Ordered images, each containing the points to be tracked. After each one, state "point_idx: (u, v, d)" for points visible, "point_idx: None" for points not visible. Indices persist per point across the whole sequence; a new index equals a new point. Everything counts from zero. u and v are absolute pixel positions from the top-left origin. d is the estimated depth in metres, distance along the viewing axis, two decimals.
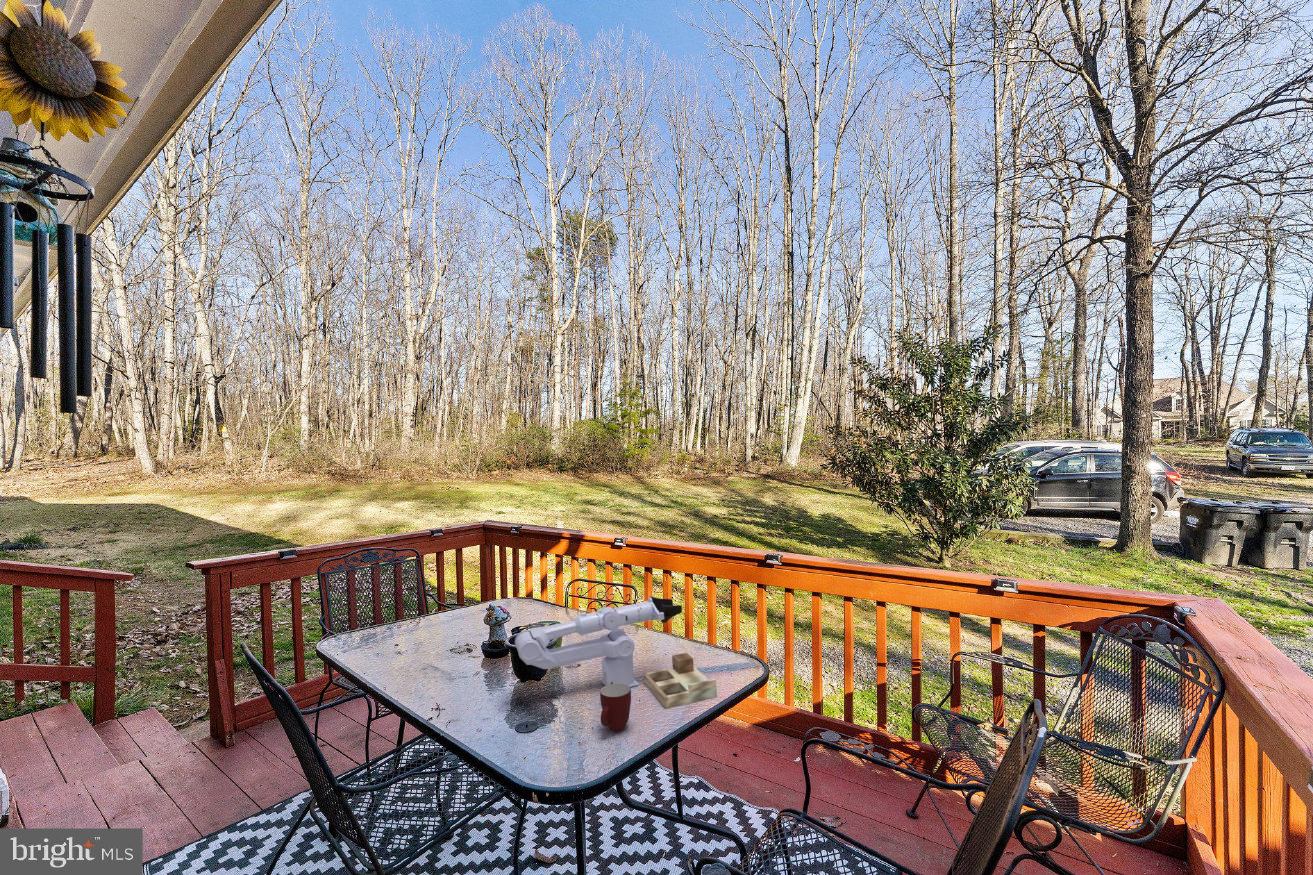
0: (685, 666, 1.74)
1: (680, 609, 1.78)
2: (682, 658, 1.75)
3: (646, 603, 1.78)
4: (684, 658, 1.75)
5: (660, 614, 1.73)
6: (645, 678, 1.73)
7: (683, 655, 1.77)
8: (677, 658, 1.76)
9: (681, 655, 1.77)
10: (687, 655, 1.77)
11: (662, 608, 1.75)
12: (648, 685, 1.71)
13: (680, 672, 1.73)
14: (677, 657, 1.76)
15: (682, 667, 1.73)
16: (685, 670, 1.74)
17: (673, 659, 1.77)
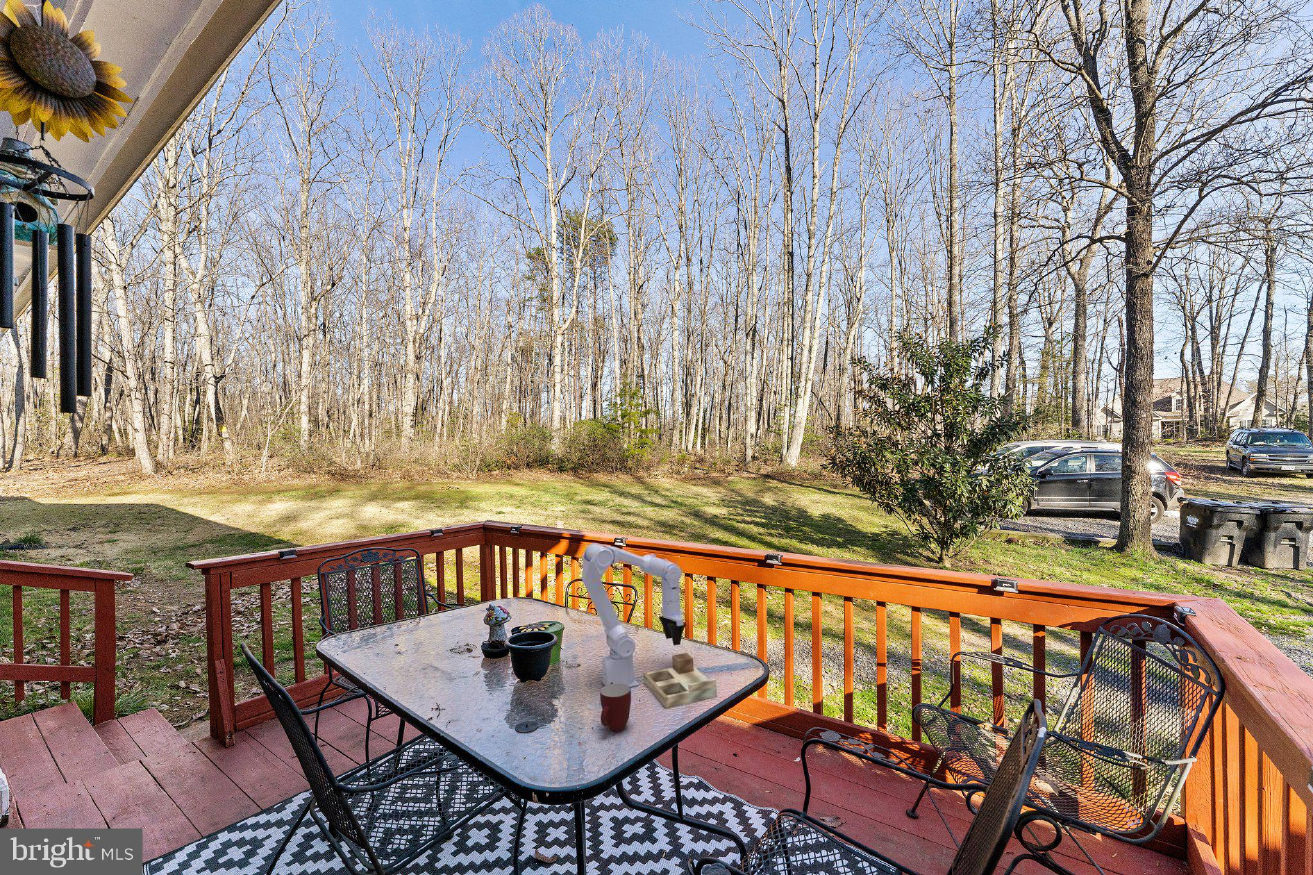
0: (685, 666, 1.74)
1: (677, 643, 1.80)
2: (682, 658, 1.75)
3: None
4: (684, 658, 1.75)
5: (682, 621, 1.77)
6: (645, 678, 1.73)
7: (683, 655, 1.77)
8: (677, 658, 1.76)
9: (681, 655, 1.77)
10: (687, 655, 1.77)
11: None
12: (648, 685, 1.71)
13: (680, 672, 1.73)
14: (677, 657, 1.76)
15: (682, 667, 1.73)
16: (685, 670, 1.74)
17: (673, 659, 1.77)
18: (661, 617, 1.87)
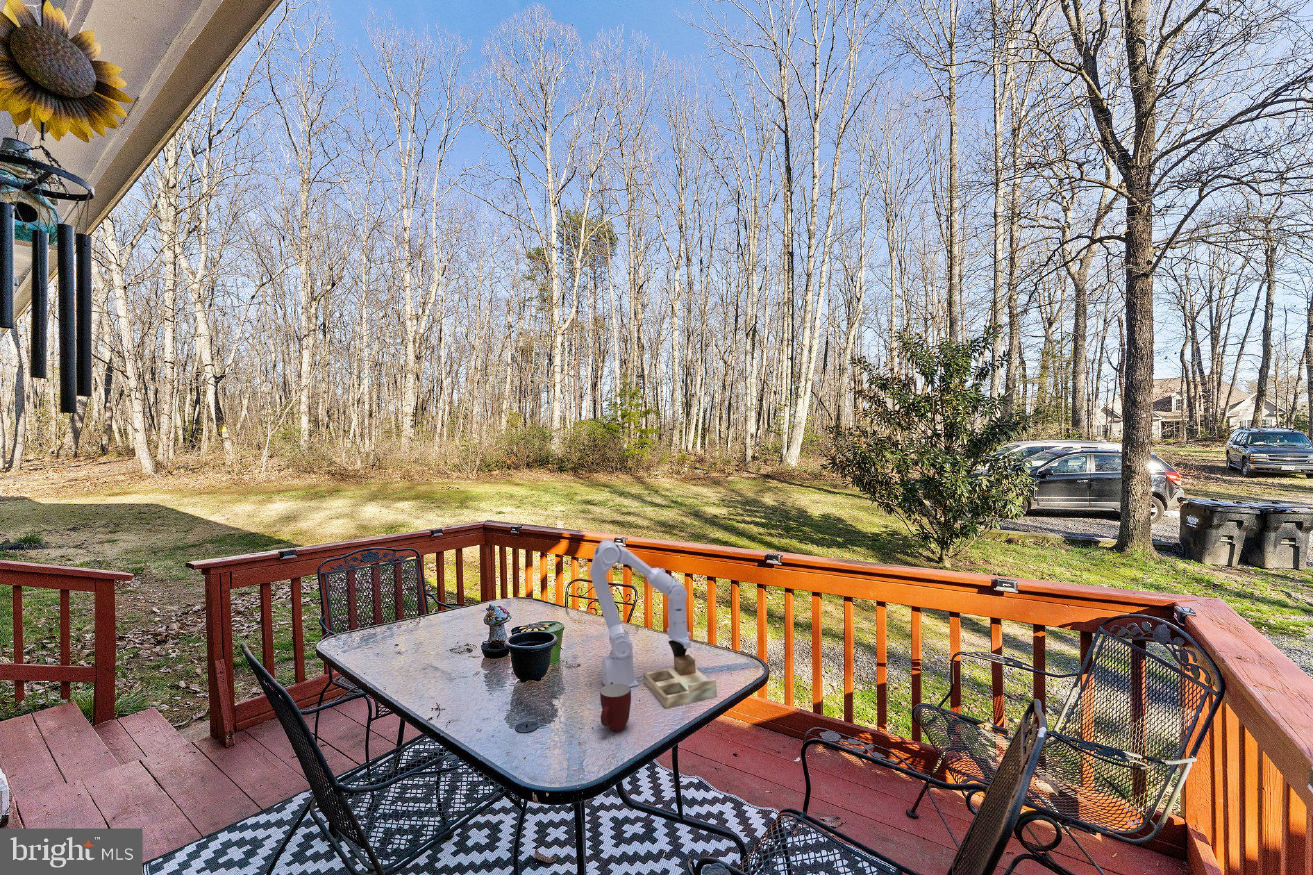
0: (687, 667, 1.73)
1: None
2: (684, 660, 1.74)
3: None
4: (686, 660, 1.74)
5: (690, 644, 1.72)
6: (645, 678, 1.73)
7: (685, 657, 1.76)
8: (679, 659, 1.74)
9: (683, 657, 1.76)
10: (689, 657, 1.76)
11: None
12: (648, 685, 1.71)
13: (682, 674, 1.72)
14: (679, 659, 1.75)
15: (683, 669, 1.72)
16: (687, 672, 1.72)
17: (675, 661, 1.75)
18: (671, 641, 1.79)
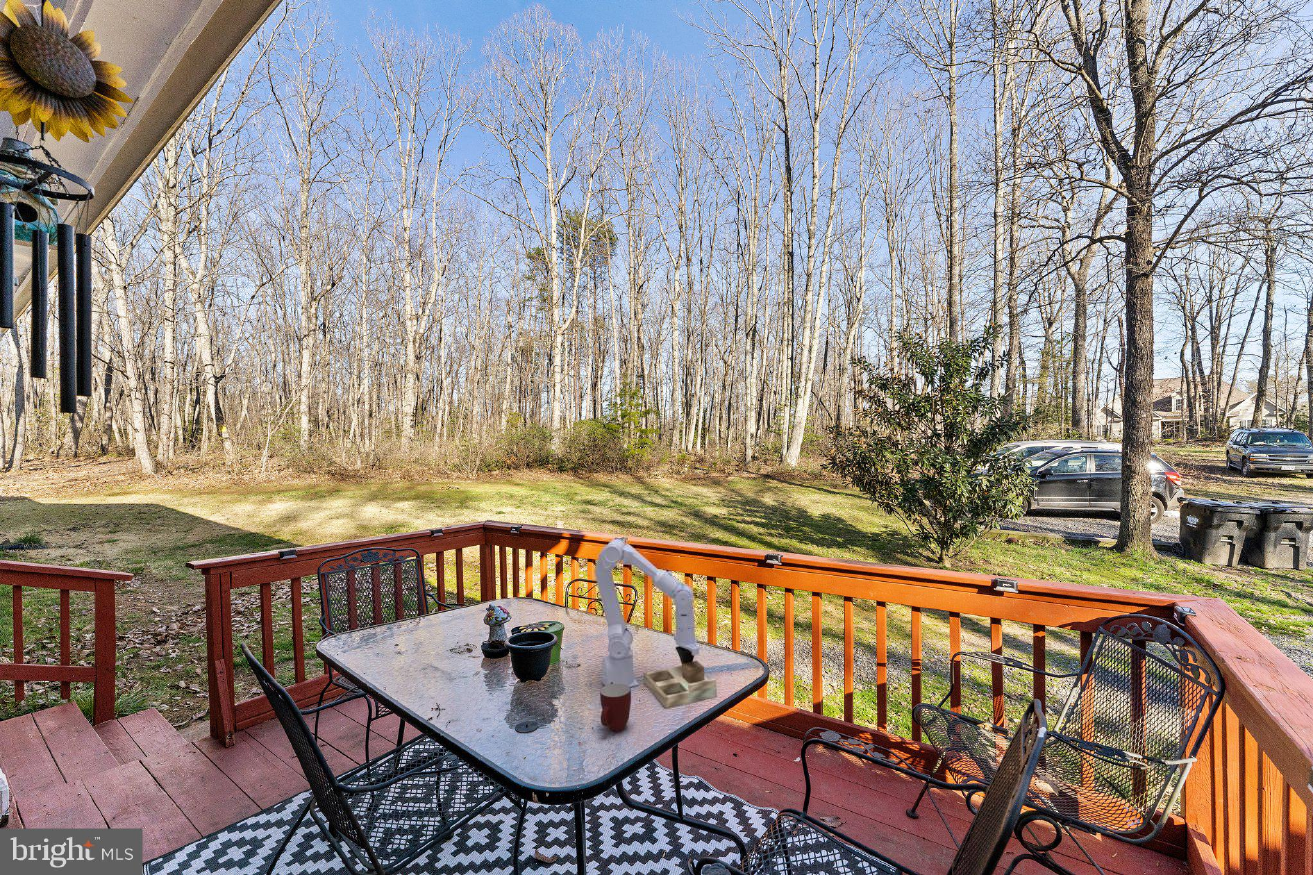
0: (696, 674, 1.67)
1: None
2: (692, 666, 1.68)
3: None
4: (694, 666, 1.68)
5: (698, 651, 1.67)
6: (645, 678, 1.73)
7: (693, 663, 1.71)
8: (687, 666, 1.69)
9: (691, 663, 1.71)
10: (697, 663, 1.71)
11: None
12: (648, 685, 1.71)
13: (691, 681, 1.67)
14: (688, 665, 1.69)
15: (692, 676, 1.67)
16: (696, 679, 1.67)
17: (683, 667, 1.70)
18: (678, 647, 1.74)
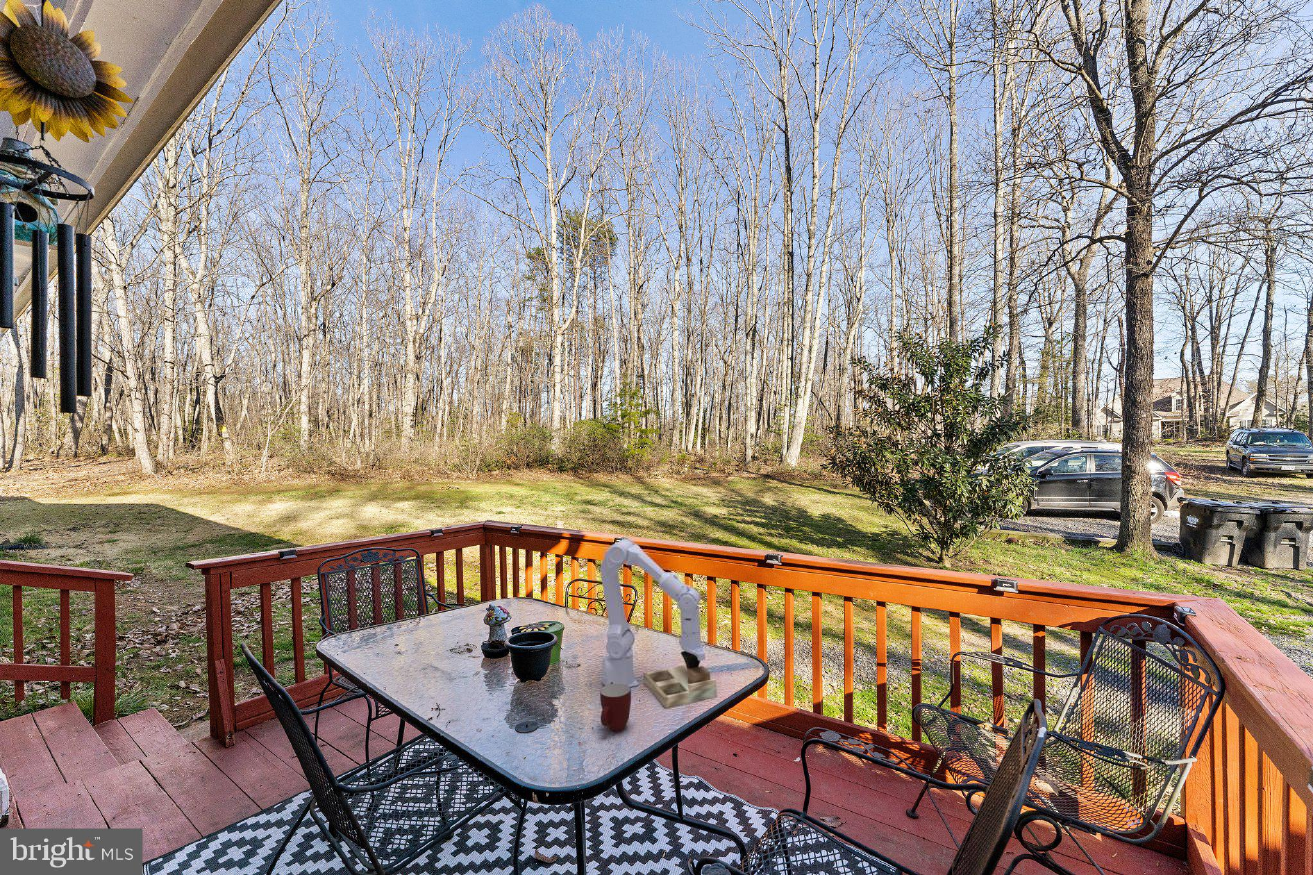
0: (701, 680, 1.63)
1: None
2: (698, 672, 1.64)
3: None
4: (700, 672, 1.64)
5: (704, 656, 1.63)
6: (645, 678, 1.73)
7: (699, 668, 1.67)
8: (693, 671, 1.65)
9: (697, 668, 1.67)
10: (703, 668, 1.67)
11: None
12: (648, 685, 1.71)
13: None
14: (693, 671, 1.65)
15: None
16: None
17: (688, 673, 1.66)
18: (683, 652, 1.70)
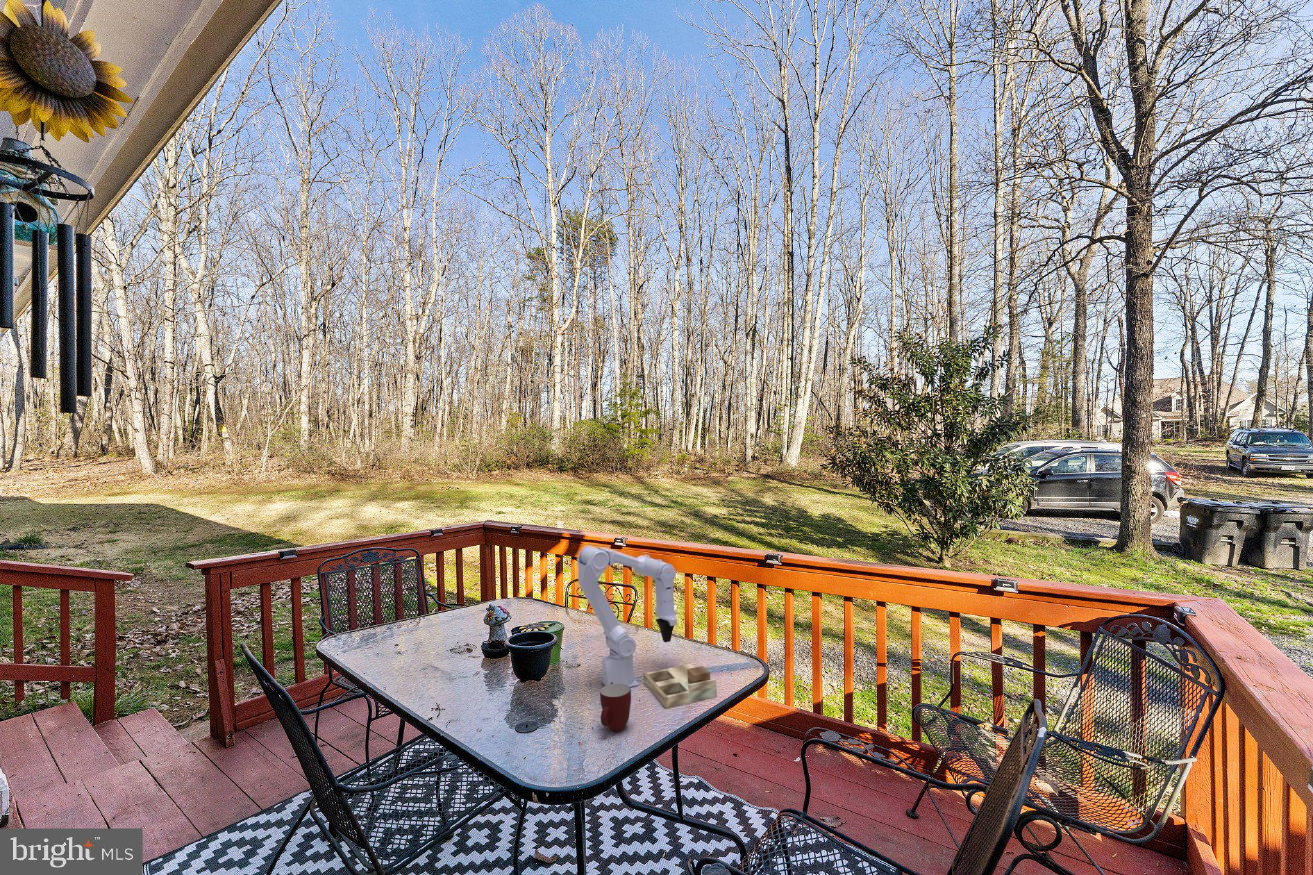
0: (701, 680, 1.63)
1: (667, 640, 1.83)
2: (698, 672, 1.64)
3: None
4: (700, 672, 1.64)
5: (676, 621, 1.77)
6: (645, 678, 1.73)
7: (699, 668, 1.67)
8: (693, 671, 1.65)
9: (697, 668, 1.67)
10: (703, 668, 1.67)
11: None
12: (648, 685, 1.71)
13: None
14: (693, 671, 1.65)
15: None
16: None
17: (688, 673, 1.66)
18: (658, 620, 1.84)
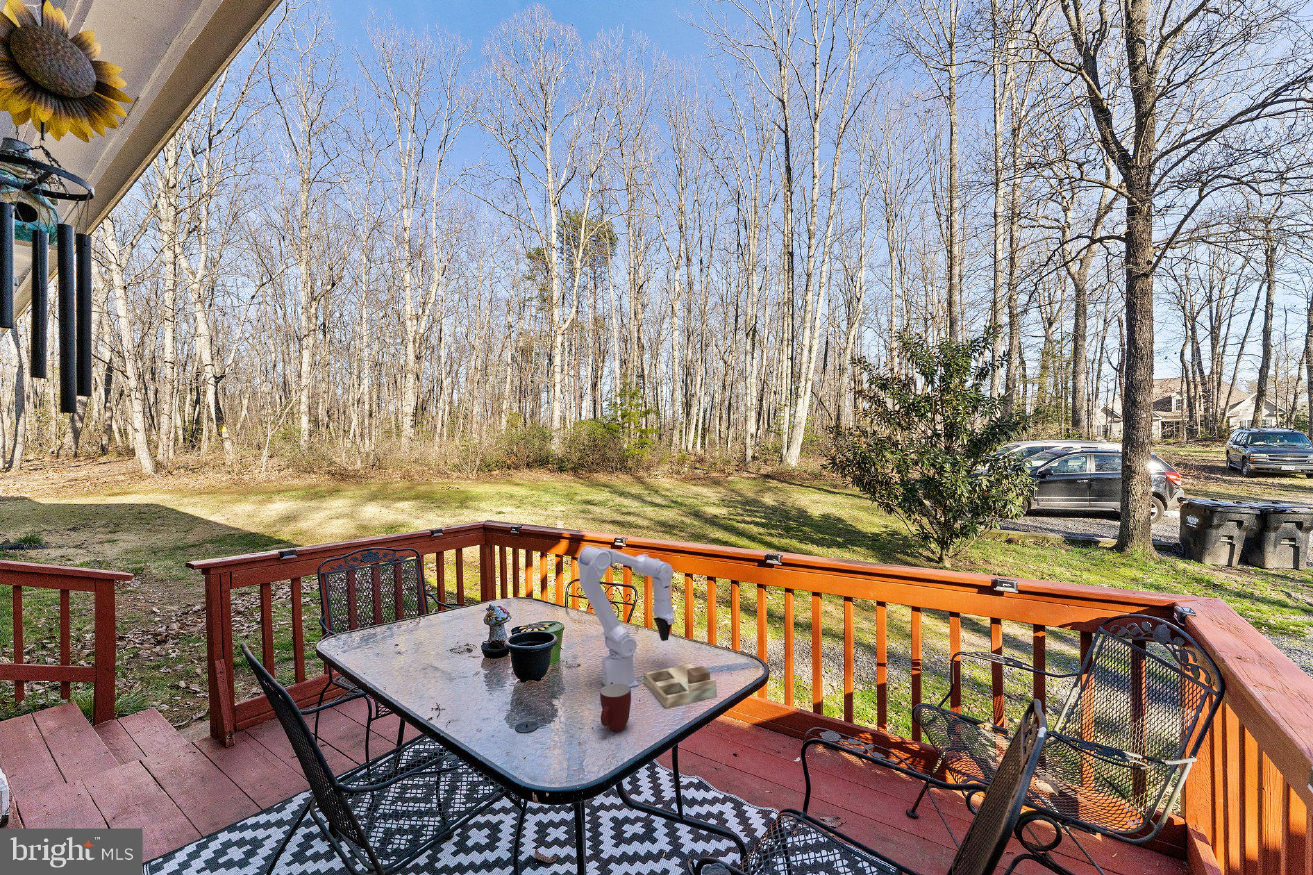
0: (701, 680, 1.63)
1: (665, 639, 1.84)
2: (698, 672, 1.64)
3: None
4: (700, 672, 1.64)
5: (673, 620, 1.78)
6: (645, 678, 1.73)
7: (699, 668, 1.67)
8: (693, 671, 1.65)
9: (697, 668, 1.67)
10: (703, 668, 1.67)
11: None
12: (648, 685, 1.71)
13: None
14: (693, 671, 1.65)
15: None
16: None
17: (688, 673, 1.66)
18: (656, 618, 1.85)
